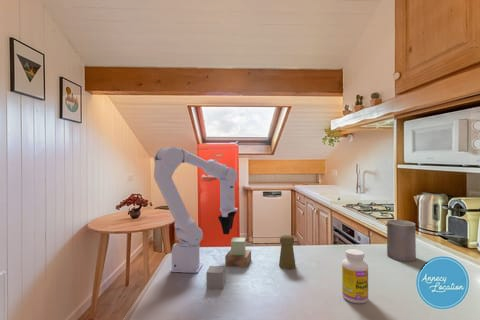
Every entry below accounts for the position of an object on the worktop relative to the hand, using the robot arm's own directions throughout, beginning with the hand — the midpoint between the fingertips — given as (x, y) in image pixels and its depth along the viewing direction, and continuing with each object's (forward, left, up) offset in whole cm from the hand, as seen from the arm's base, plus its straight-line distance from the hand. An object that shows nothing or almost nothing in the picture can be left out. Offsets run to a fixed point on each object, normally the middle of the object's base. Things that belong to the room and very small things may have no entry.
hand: (227, 231), depth 108 cm
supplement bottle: (+40, -29, -11) cm, 50 cm away
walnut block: (+5, -5, -11) cm, 13 cm away
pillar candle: (+68, +5, -11) cm, 69 cm away
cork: (+23, -7, -11) cm, 26 cm away
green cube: (+5, -5, -7) cm, 9 cm away
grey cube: (0, -24, -10) cm, 26 cm away
